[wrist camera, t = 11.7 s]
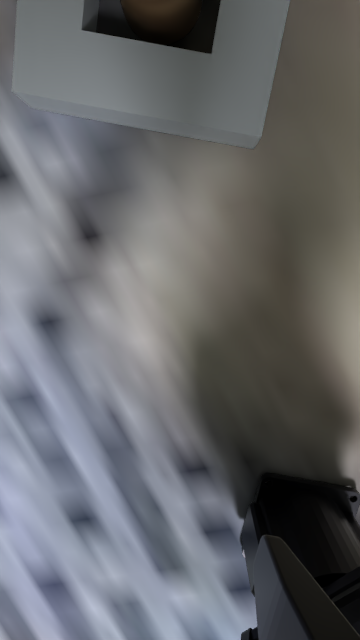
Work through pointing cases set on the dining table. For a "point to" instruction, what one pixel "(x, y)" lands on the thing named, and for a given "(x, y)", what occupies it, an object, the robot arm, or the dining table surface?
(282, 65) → the dining table surface
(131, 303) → the dining table surface
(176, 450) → the dining table surface
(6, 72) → the dining table surface
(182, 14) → the tall pin
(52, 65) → the hole plate
